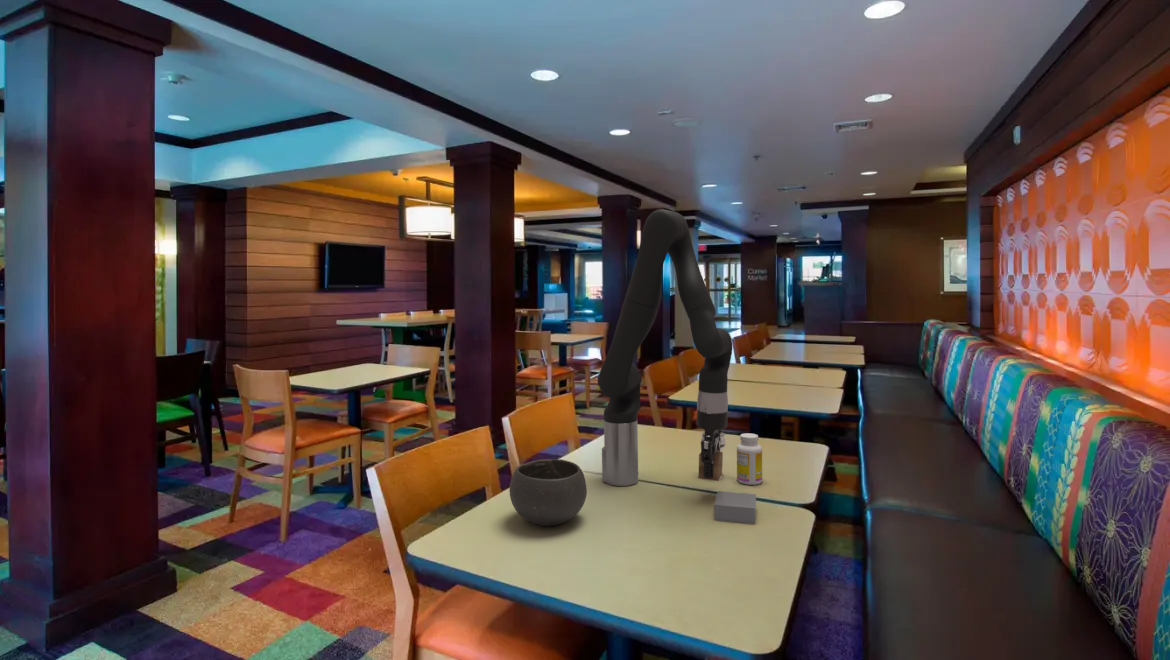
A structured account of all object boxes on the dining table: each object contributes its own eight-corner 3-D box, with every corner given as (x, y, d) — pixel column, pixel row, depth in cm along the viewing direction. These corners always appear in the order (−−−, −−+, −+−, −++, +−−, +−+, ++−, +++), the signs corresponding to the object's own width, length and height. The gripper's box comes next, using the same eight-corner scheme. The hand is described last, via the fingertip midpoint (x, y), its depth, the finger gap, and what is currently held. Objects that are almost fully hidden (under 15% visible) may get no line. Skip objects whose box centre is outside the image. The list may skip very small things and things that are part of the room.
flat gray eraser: (714, 521, 137) (714, 504, 137) (717, 506, 146) (717, 491, 146) (754, 525, 135) (754, 508, 134) (755, 510, 143) (756, 494, 143)
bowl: (543, 500, 152) (542, 452, 151) (602, 515, 141) (601, 463, 140) (494, 525, 137) (492, 471, 136) (556, 543, 127) (554, 486, 126)
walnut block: (698, 478, 150) (699, 454, 149) (702, 471, 154) (703, 449, 154) (718, 481, 148) (719, 457, 147) (722, 474, 152) (722, 451, 152)
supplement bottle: (759, 477, 165) (759, 432, 164) (764, 485, 159) (764, 438, 158) (735, 477, 166) (735, 432, 165) (738, 485, 159) (738, 438, 158)
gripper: (703, 401, 157) (701, 463, 159) (690, 413, 144) (689, 481, 146) (732, 403, 154) (730, 467, 156) (722, 416, 141) (720, 485, 143)
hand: (710, 473), depth 151 cm, fingers closed on walnut block, 5 cm apart
